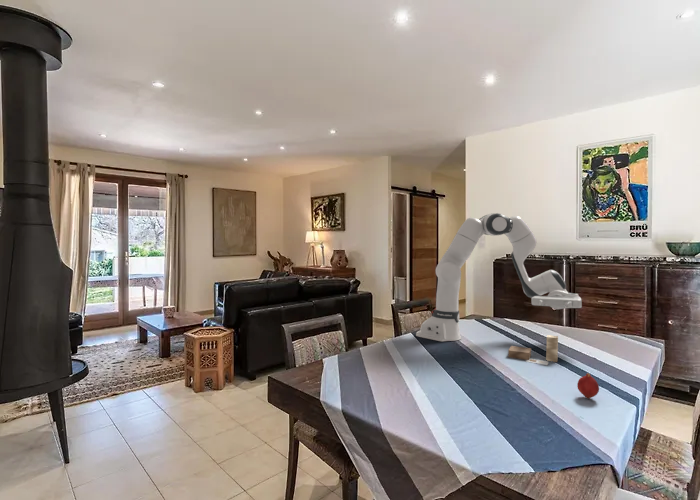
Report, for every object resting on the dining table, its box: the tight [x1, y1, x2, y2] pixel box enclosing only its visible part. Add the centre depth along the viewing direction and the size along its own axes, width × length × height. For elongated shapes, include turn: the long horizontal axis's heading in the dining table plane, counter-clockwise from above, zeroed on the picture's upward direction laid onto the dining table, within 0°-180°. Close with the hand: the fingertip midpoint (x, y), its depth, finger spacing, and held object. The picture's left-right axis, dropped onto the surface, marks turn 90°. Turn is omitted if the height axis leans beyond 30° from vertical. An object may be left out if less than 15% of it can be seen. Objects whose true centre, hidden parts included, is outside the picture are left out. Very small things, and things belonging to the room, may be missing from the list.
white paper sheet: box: [525, 358, 549, 366], centre depth 154 cm, size 8×5×1 cm, turn 59°
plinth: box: [508, 345, 532, 361], centre depth 161 cm, size 8×8×3 cm
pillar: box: [545, 334, 559, 363], centre depth 156 cm, size 4×4×10 cm
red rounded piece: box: [576, 373, 600, 399], centre depth 118 cm, size 6×6×8 cm
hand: (554, 304), depth 165 cm, fingers open, 8 cm apart
